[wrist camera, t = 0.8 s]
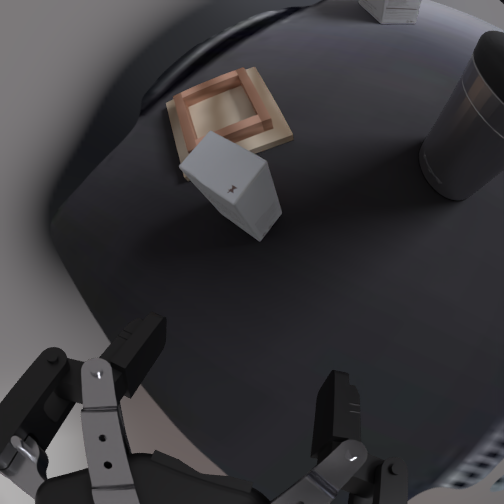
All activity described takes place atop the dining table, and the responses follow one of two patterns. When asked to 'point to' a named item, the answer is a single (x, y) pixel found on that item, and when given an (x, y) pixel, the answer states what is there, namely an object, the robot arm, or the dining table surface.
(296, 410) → the dining table surface
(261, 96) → the serum stand
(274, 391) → the dining table surface
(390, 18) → the supplement box
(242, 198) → the skincare box
